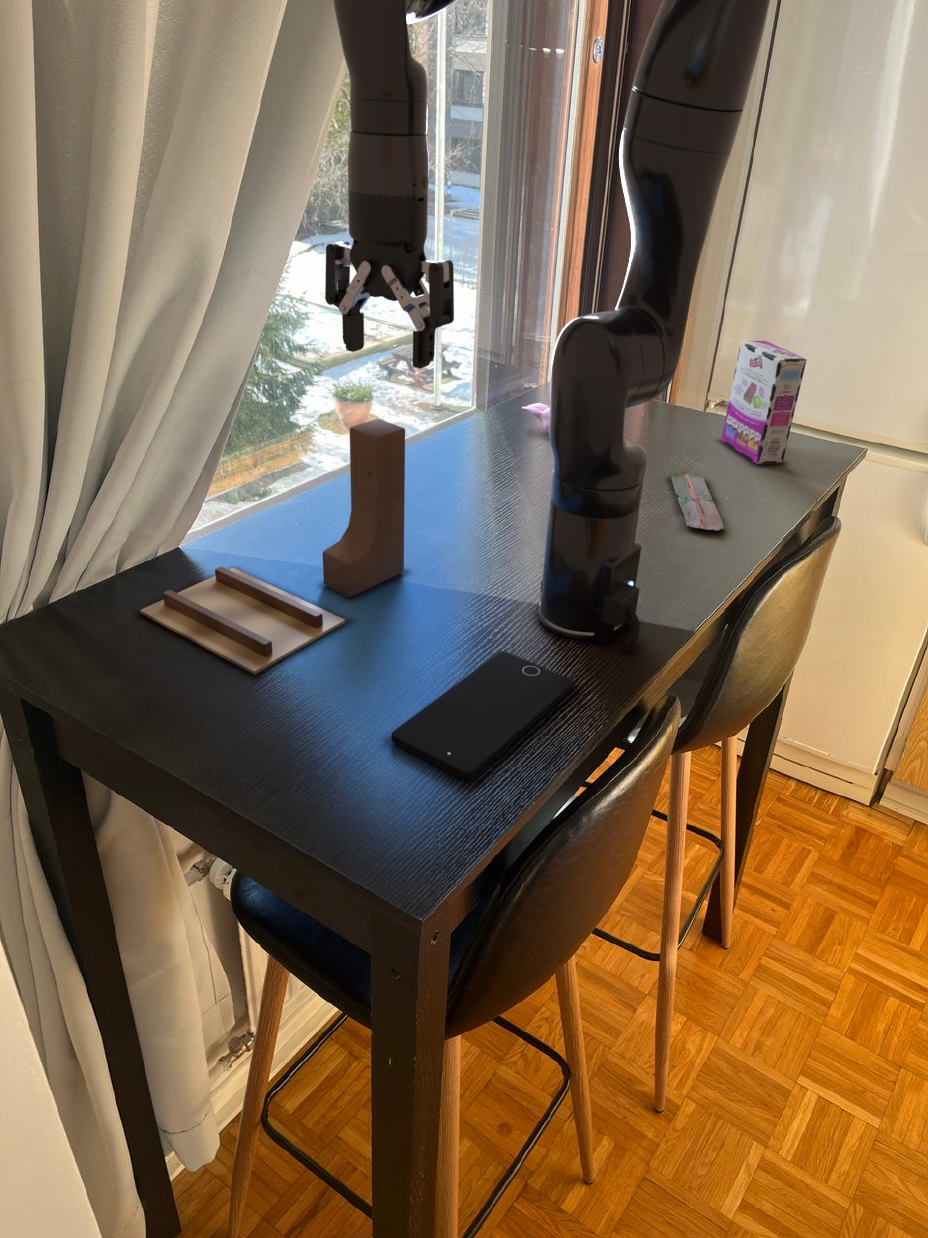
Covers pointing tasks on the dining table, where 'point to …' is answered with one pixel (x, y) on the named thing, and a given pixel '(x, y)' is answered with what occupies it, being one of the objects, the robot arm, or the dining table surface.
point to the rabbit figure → (540, 413)
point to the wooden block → (371, 512)
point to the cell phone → (482, 714)
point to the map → (696, 502)
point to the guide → (242, 619)
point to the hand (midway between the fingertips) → (387, 357)
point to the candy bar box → (763, 401)
